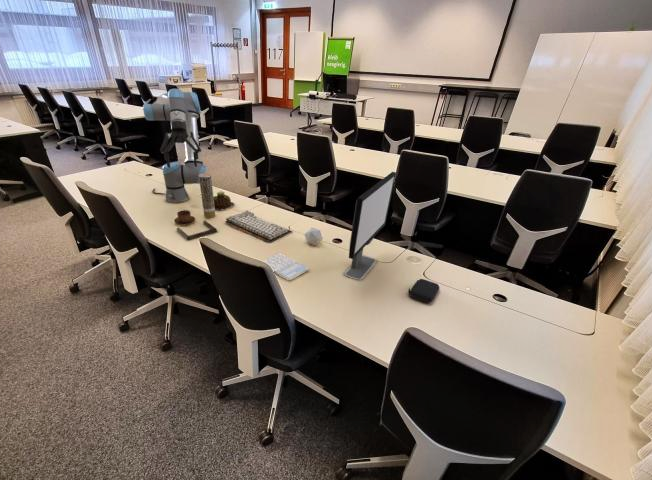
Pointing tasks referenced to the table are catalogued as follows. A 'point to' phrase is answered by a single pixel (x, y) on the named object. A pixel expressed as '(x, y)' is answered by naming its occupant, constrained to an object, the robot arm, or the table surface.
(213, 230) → the bay
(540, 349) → the table surface
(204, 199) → the bark textured cylinder
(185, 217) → the cup and saucer
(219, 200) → the dark brown mound
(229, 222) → the mechanical keyboard
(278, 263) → the calculator
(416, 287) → the carrying case
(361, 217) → the computer monitor
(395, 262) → the table surface
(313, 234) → the die
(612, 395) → the table surface
